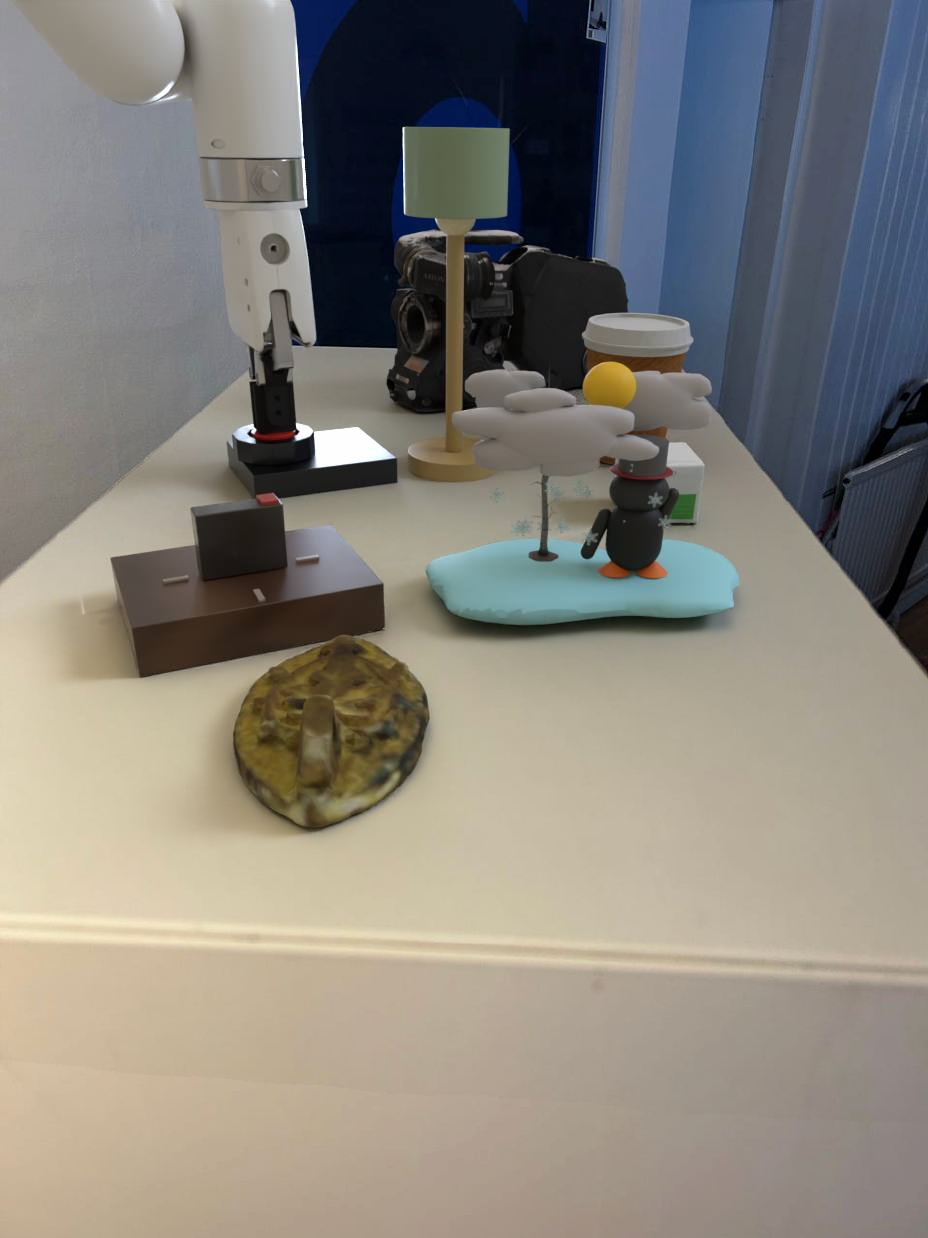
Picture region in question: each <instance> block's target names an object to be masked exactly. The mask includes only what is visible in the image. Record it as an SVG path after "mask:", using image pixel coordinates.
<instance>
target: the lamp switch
mask: <svg viewBox="0 0 928 1238" xmlns="http://www.w3.org/2000/svg"><path fill="white" fill-rule="evenodd" d="M294 436H296V434H295V430H294V431H291V432H282V433H272V434H263V435H261V434H260V433H259V432H258V431H257V430H256V429H255V428H254V429H253V430H252V431H251V438H255V439H259V440H279V439H287V438H291V437H294Z"/></svg>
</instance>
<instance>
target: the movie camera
mask: <svg viewBox="0 0 928 1238" xmlns="http://www.w3.org/2000/svg"><path fill="white" fill-rule="evenodd" d="M523 243H524V237H523V236H520V235H519V234H518V233H517V232H513V231H510V230H501V229H471V230H470V231H469V232H468V233H467V234H465V235H464V246H465V245H467V246H487V247H488V246H489V247H491V246H496V247H497V246H501V247H502V246H510V245H519V244H523ZM393 251H394V253H393V254H394V255H393V265H394V267H395V269H397V271H398V273H399V275H400V277H401V278H400V279H398V280H397V283H398V285H399V287H400V288H398V289H396V290H395V297H394V298H393V299H392V301H391V302H392V303H391V305H390V316H391V318H392V320H393V321H394V324H395V327H396V350H397V351H396V353H395V355H394V363H393V366H392V368H389V369H388V373H387V376H386V383H385V384H386V387H387V389H388V394H389V398H390V399H391V401H393V402H394V403H396V404H399V405H401V406H406V407H408V408H410V409H412V410H413V411H415V412H416V411H418V412H422V413H423V412H424V413H427V412H428V413H429V412H442V411H446V251H447V235H446V234H445V233H443V232H442V231H441V230H440V228H437V229H431V230H425V231H420V232H415V233H410V234H406V235H402V236H400V237H399V238H398V240H397V242H396V245H395V248H394V250H393ZM406 286H408V287H409V288H405V287H406ZM628 303H629V298H628V295H627V284H626V282H625V278H624V276H623V273H622V272H621V271H620V270H619V269H618V268H617V267H616V266H612V264H610V263H608V262H607V261H606V260H604V259H602V258H597V257H593V256H592V257H584V256H580V255H576V256H575V257H570V256H568V255H567V256H566V255H563V254H560V253H553V252H552V251H551V249H549V248H546V247H542V246H541V247H540V246H537V245H531V244H528V245H524V246H516V247H514V248H512V249H510V250H508V252H505V253H504V254H503V255H502V256H501V257H500V258H499V259H497V260H492V257H491V256H490V254H489V253H488V251H480V252H465V251H464V304H463V383H462V409H463V408H465V409H466V408H472V407H477V404H476V397H474V398H473V397H472V396H471V394H470V393H468V392H466V391H465V380H467V379H468V378H469V377H470V376H471V375H473V374H475V373H480V372H483V371H490V370H498V369H499V370H506V368H505V367H504V363H505V362H508V363H510V364H511V365H513V366H514V368H515V369H516V371H534V372H537V373H539V374H541V375H542V376H543V377H544V380H547V381H548V380H549V384H550V388H554V389H555V388H556V387H557V389H559V390H566V389H571V388H578V387H582V388H583V382H584V379H585V377H586V375H587V373H588V366H587V347H586V346H585V344H584V339H583V337H582V333H583V332H585V331H586V327H587V324H588V320H589V318H591V317H593V316H596V315H602V314H611V313H629V309H628ZM549 369H550V372H549ZM544 370H545V371H544ZM545 372H546V373H545ZM549 375H550V378H549ZM561 378H562V379H561ZM547 381H545V383H546V387H547V388H549V385H548V382H547ZM559 382H560V383H559ZM558 384H559V385H558ZM557 385H558V386H557ZM546 387H545V386H544V387H543V388H546ZM412 391H414V392H415V397H414V399H413V400H412V399H411V398H410V397H409V394H408V392H412Z"/></svg>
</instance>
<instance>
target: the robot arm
mask: <svg viewBox="0 0 928 1238" xmlns="http://www.w3.org/2000/svg"><path fill="white" fill-rule="evenodd" d="M10 1H11V2H12V4H13V5H14V6H15V7H16V8H17V10H18V11H19V12H20V13H21V14H22V15H23V16H24V18H26V20H27V21H28V22H29V23H30V24H31V26H32V27H33V28H34V29H35V30H36V31H37V33H38V34H39V35H40V36H41V37H42V38H43V40H44V41H45V42H46V43H47V44H48V46H49V47H50V48H51V49H52V51H54V53H55V54H56V55H57V56H58V57H59V58H60V60H61V61H62V62H63V63H64V64H65V65H66V67H67V68H68V69H69V70H70V71H71V72H72V73H73V74H74V75H75V76H76V77H77V78H78V79H79V81H81V82H82V84H84V85H85V86H86V87H87V88H89V90H92V91H93V92H94V93H95V94H98V95H99V96H101V97H103V98H106V99H108V100H110V101H112V102H114V103H117V104H120V105H123V106H127V107H136V108H138V107H140V108H141V107H142V108H143V107H150V106H157V105H163V104H170V103H177V102H187V101H191V102H192V111H193V120H194V130H195V139H196V148H197V156H198V157H199V158H198V166H199V175H200V182H201V183H200V184H201V193H202V202H203V208H204V209H208V210H212V209H213V210H218V223H219V224H218V227H219V230H218V234H219V241H220V254H221V266H222V279H223V288H224V296H225V305H226V311H227V312H226V313H227V317H228V323H229V326H230V329H231V331H232V332H233V333H234V334H235V335H236V336H237V337H238V338H239V339H240V340H241V341H242V342H244V345H245V354H246V359H247V360H246V362H247V369H248V375H249V379H250V381H249V382H248V383H249V394H250V395H249V396H250V403H251V415H252V424H253V426H254V428H255V429H256V430H257V431H258V432H259V433H260V434H261V435H263V434H272V433H282V432H291V431H294V430H295V429H296V423H297V416H296V402H295V401H296V400H295V399H296V398H295V388H294V367H295V362H294V361H295V360H294V352H293V341H295V342H296V343H298V344H299V345H301V346H302V347H304V348H307V349H310V348H312V347H313V346H314V345H315V343H316V341H317V330H316V329H317V328H316V318H315V309H314V300H313V291H312V280H311V273H310V272H311V270H310V265H309V264H310V263H309V256H308V255H309V254H308V249H307V241H306V236H305V230H304V225H303V220H302V215H301V211H300V209H306V208H307V207H308V200H307V185H306V184H307V183H306V182H307V181H306V170H305V169H306V168H305V166H306V165H305V158H304V157H305V154H304V145H303V143H304V142H303V141H304V138H303V123H302V121H303V120H302V104H301V103H302V102H301V89H300V74H299V73H300V72H299V58H298V56H299V55H298V44H297V43H298V42H297V27H296V26H297V25H296V17H295V16H296V15H295V10H294V7H293V4H292V1H291V0H10ZM292 340H293V341H292Z"/></svg>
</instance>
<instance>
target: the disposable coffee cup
mask: <svg viewBox="0 0 928 1238" xmlns="http://www.w3.org/2000/svg"><path fill="white" fill-rule="evenodd" d="M582 337H583V339H584V344H585V346H586V347H587V366H588V372H589V371H590V370H591V369H592V368H593V367H595V366H596V365H598V364H601V363H604V362H617V363H620V364H623V365H624V366H626V367H627V368H629V369H630V371H631V372H643V371H659V372H660V373H661V374H664V373H683V372H682V371H683V367H684V363H685V359H686V356H687V352H689V350H690V346H691V345H692V344H693V342H694V337H693V336H692V335H691V327H690V323H689V321H687V320H685V319H683V318H679V317H677V316H670V315H665V314H655V313H646V312H645V313H643V312H641V313H640V312H628V313H611V314H602V315H596V316H593V317H591V318H589V320H588V324H587V327H586V331H585V332H583V333H582ZM661 374H660V375H661ZM588 405H590V404H589V403H588ZM668 429H669V428H666V427H662V426H660V427H658V428H655V429H651V430H642V431H631V432H628V433H626V435H632V434H648V435H655V436H659V437H663V438H665V439H666V437H667V433H668ZM615 459H616V458H611V457H607V456H603V457H601V458H600V462H601V463H604V464H608V465H611V466H613V465H615Z"/></svg>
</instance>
